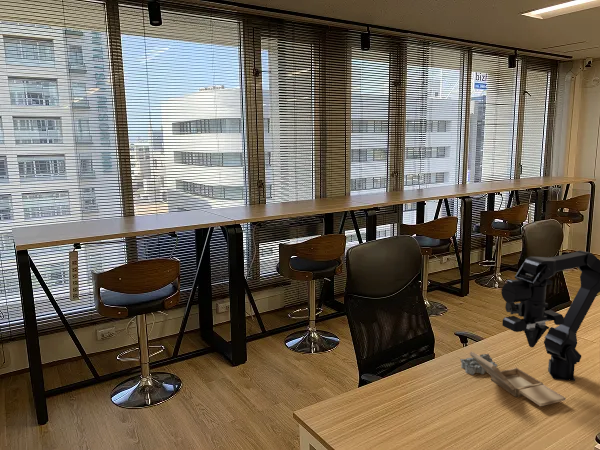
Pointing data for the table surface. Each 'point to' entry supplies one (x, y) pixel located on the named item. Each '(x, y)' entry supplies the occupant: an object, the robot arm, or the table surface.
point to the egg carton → (475, 364)
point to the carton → (528, 387)
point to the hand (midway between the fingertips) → (531, 346)
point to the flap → (492, 370)
